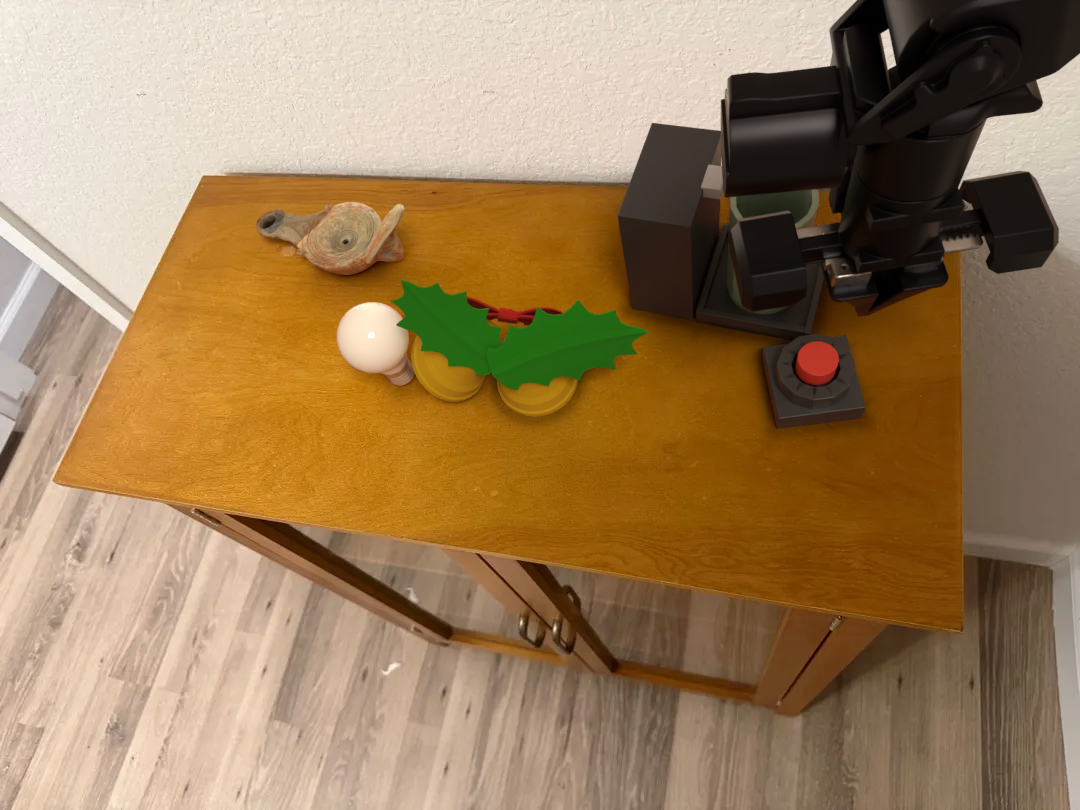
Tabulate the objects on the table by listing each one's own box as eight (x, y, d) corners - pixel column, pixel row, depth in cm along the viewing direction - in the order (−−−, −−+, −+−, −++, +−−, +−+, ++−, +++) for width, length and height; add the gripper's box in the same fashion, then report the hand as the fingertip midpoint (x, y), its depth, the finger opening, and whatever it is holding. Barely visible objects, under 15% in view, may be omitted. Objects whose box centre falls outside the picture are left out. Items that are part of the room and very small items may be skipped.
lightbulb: (361, 389, 76) (310, 335, 67) (398, 338, 78) (352, 278, 68) (411, 416, 74) (365, 363, 64) (447, 363, 76) (407, 303, 66)
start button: (830, 348, 65) (834, 338, 63) (839, 382, 63) (843, 372, 62) (791, 354, 65) (793, 344, 64) (799, 387, 64) (801, 378, 62)
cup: (812, 265, 72) (831, 177, 61) (786, 324, 70) (800, 243, 59) (742, 245, 74) (748, 157, 64) (714, 301, 72) (716, 219, 62)
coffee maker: (830, 252, 73) (856, 143, 60) (807, 344, 69) (830, 248, 57) (660, 225, 78) (651, 119, 65) (631, 309, 74) (616, 215, 62)
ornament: (610, 373, 77) (648, 255, 66) (610, 439, 72) (652, 322, 60) (403, 343, 76) (407, 216, 64) (387, 408, 70) (388, 281, 59)
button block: (842, 347, 68) (849, 323, 65) (861, 418, 65) (870, 398, 62) (761, 358, 70) (764, 336, 66) (776, 429, 66) (780, 409, 63)
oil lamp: (417, 306, 79) (381, 247, 70) (252, 265, 86) (200, 207, 77) (450, 239, 82) (419, 174, 73) (288, 205, 89) (242, 142, 80)
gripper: (1039, 28, 45) (962, 202, 59) (716, 92, 48) (715, 244, 62) (1113, 173, 40) (1010, 326, 54) (748, 235, 43) (739, 365, 57)
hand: (861, 310), depth 57 cm, fingers closed
